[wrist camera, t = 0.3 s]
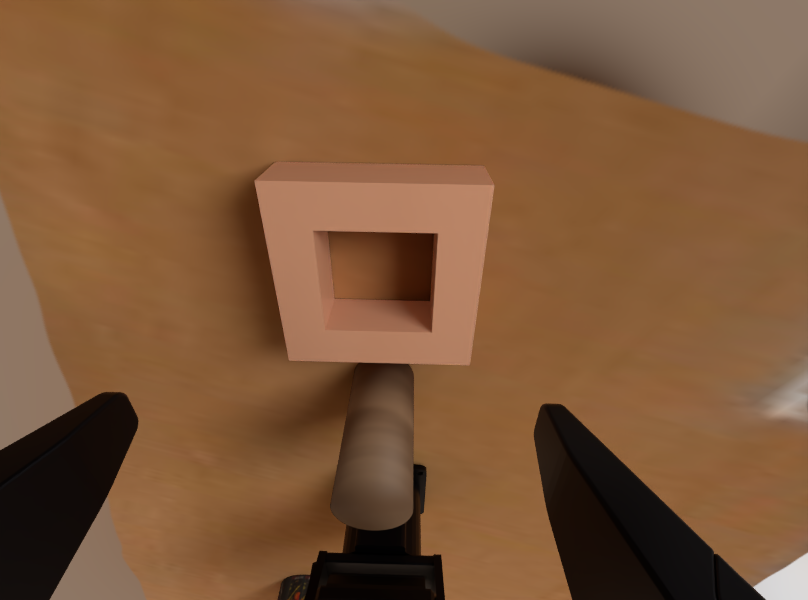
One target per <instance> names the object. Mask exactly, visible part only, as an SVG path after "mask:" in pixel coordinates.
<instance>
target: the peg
mask: <svg viewBox="0 0 808 600" xmlns="http://www.w3.org/2000/svg"><path fill="white" fill-rule="evenodd" d="M413 428H414V374H413V371H412V369H411V367H410V366H409V365H408V364H402V363H362V362H360V363H359V364H358V365H357V367H356V369H355V372H354V377H353V383H352V388H351V394H350V399H349V405H348V410H347V416H346V421H345V427H344V432H343V438H342V443H341V449H340V454H339V460H338V465H337V471H336V476H335V482H334V487H333V493H332V498H331V504H330V508H331V511H332V513H333V515H334V516H335V517H336V518H337V519H338V520H340V521H341V522H343V523H344V524H347V525H349V526H351V527H354V528H358V529H363V530H387V529H392V528H395V527H398V526H400V525H402V524H404V523H405V522H407V521H408V520H409V519H410V517H411V516H412V513H413Z"/></svg>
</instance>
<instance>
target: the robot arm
mask: <svg viewBox="0 0 808 600" xmlns="http://www.w3.org/2000/svg"><path fill="white" fill-rule="evenodd" d="M137 428H138V417H137V415H136V413H135V411H134V409H133V407H132V405H131V403H130V401H129V399H128V397H127V395H126V394H124V393H121V392H104V393H101V394H99V395H97V396H95V397H93V398H92V399H90V400H88V401H86V402H85V403H83V404H81V405H79V406H78V407H76V408H74V409H72V410H71V411H69V412H67V413H65V414H63V415H62V416H60V417H58V418H56V419H55V420H53V421H51V422H50V423H48V424H46V425H44V426H42V427H41V428H39V429H37V430H35V431H34V432H32V433H30V434H28V435H26V436H25V437H23V438H21V439H20V440H18V441H16V442H14V443H12V444H11V445H9V446H7V447H5V448H4V449H2V450H0V600H50V598H51V596H52V594H53V593H54V591H55V589H56V587H57V585H58V584H59V582H60V580H61V578H62V577H63V575H64V573H65V571H66V569H67V568H68V566H69V564H70V562H71V560H72V559H73V557H74V555H75V553H76V552H77V550H78V548H79V546H80V544H81V543H82V541H83V539H84V537H85V536H86V534H87V532H88V530H89V528H90V527H91V525H92V523H93V521H94V520H95V518H96V516H97V514H98V512H99V511H100V509H101V507H102V505H103V503H104V501H105V499H106V498H107V495H108V493H109V491H110V489H111V487H112V485H113V483H114V480H115V478H116V476H117V474H118V471H119V469H120V467H121V465H122V462H123V460H124V458H125V456H126V453H127V451H128V449H129V446H130V444H131V442H132V440H133V437H134V435H135V433H136V431H137ZM534 441H535V447H536V452H537V458H538V464H539V469H540V475H541V481H542V487H543V492H544V498H545V503H546V508H547V513H548V516H549V520H550V524H551V527H552V531H553V534H554V538H555V541H556V545H557V548H558V552H559V555H560V559H561V562H562V565H563V569H564V572H565V576H566V579H567V583H568V586H569V590H570V593H571V597H572V600H765V598H763V597H762V596H761V595H760V594H759V593H758V592H757V591H756V590H755V589H754V588H753V587H752V586H751V585H750V584H748V583H747V582H746V581H745V580H744V579H743V578H742V577H741V576H740V575H739V574H738V573H737V572H736V571H735V570H734V569H733V568H732V567H731V566H730V565H728V564H727V563H726V562H725V561H724V560H723V559H722V558H721V557H720V556H719V555H718V554H714V551H713V549H712V548H711V547H710V546H709V545H708V544H706V543H705V542H704V541H703V540H702V539H701V538H700V537H699V536H698V535H697V534H696V533H695V532H694V531H693V530H692V529H691V528H690V527H689V526H688V525H687V524H686V523H685V522H684V521H683V520H682V519H681V518H680V517H679V516H677V515H676V514H675V513H674V512H673V511H672V510H671V509H670V508H669V507H668V506H667V505H666V504H665V503H664V502H663V501H662V500H661V499H660V498H659V497H658V496H657V495H656V494H655V493H654V492H653V491H652V490H651V489H650V488H648V487H647V486H646V485H645V484H644V483H643V482H642V481H641V480H640V479H639V478H638V477H637V476H636V475H635V474H634V473H633V472H632V471H631V470H630V469H629V468H628V467H627V466H626V465H625V464H624V463H623V462H622V461H620V460H619V459H618V458H617V457H616V456H615V455H614V454H613V453H612V452H611V451H610V450H609V449H608V448H607V447H606V446H605V445H604V444H603V443H602V442H601V441H600V440H599V439H598V438H597V437H596V436H595V435H594V434H593V433H591V432H590V431H589V430H588V429H587V428H586V427H585V426H584V425H583V424H582V423H581V422H580V421H579V420H578V419H577V418H576V417H575V416H574V415H573V414H572V413H571V412H570V411H569V410H568V409H567V408H566V407H564V406H563V405H561V404H543V405H542V406H541V407H540V411H539V414H538V418H537V422H536V425H535V429H534ZM425 487H426V467H425V466H423V465H413V513H412V516H411V517H410V519H409V520H408V521H407V522H405V523H404V524H402V525H400V526H398V527H395V528H392V529H387V530H363V529H358V528H354V527H351V526H349V525H347V524H346V531H345V538H344V545H343V553H327V551H319V554H318V558H317V561H316V562H314V563H313V565H312V570H311V575H310V580H309V584H308V588H307V592H306V595H305V597H304V600H445V595H444V583H443V571H442V560H441V555H436V554H434V555H433V556H421V525H420V514H422V513H423V512H424V501H425Z"/></svg>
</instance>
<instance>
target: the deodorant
mask: <svg viewBox="0 0 808 600" xmlns="http://www.w3.org/2000/svg"><path fill="white" fill-rule="evenodd" d="M309 580H310V575H296V576H291V577H288V578H286V579H284V580H283V581H282V583H281V587H280V591H279V595H278V600H304V597H305V595H306V592H307V588H308V584H309Z"/></svg>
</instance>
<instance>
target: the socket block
mask: <svg viewBox="0 0 808 600" xmlns="http://www.w3.org/2000/svg"><path fill="white" fill-rule="evenodd" d="M255 186H256V191H257V197H258V202H259V207H260V212H261V217H262V222H263V228H264V233H265V238H266V243H267V248H268V254H269V259H270V264H271V269H272V274H273V279H274V285H275V290H276V295H277V300H278V305H279V311H280V316H281V321H282V326H283V331H284V336H285V342H286V347H287V352H288V357H289V361H323V362H362V363H402V364H442V365H470V360H471V353H472V345H473V338H474V331H475V323H476V316H477V309H478V301H479V294H480V287H481V280H482V272H483V265H484V258H485V250H486V243H487V236H488V228H489V221H490V214H491V206H492V199H493V192H494V184H493V182H492V180H491V178H490V176H489V174H488V172H487V170H486V168H485V166H475V165H421V164H367V163H313V162H275V163H273V164H272V165H271V166H270V167H269V168H268V169H267V170H266V171H265V172H263V173H262V174H261V175H260V176H259V177H258V178H257V179H256V180H255ZM328 231H352V232H400V233H434V242H433V259H432V277H431V294H430V301H408V300H365V299H335V298H334V288H333V278H332V268H331V258H330V248H329V238H328Z"/></svg>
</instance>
